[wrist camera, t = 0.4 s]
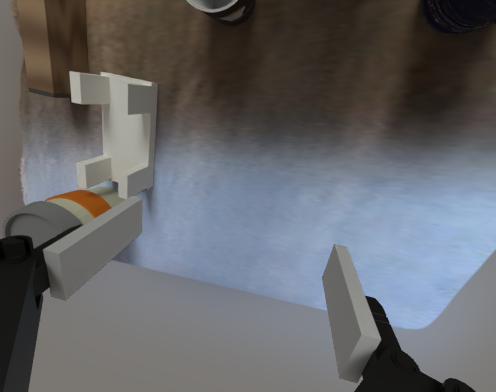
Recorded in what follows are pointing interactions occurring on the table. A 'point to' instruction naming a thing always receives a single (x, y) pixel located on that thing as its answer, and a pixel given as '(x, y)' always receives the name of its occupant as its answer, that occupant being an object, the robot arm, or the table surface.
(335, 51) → the table surface
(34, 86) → the rail
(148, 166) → the post stand
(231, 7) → the coffee mug
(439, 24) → the storage jar
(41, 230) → the reusable coffee cup
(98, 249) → the robot arm
